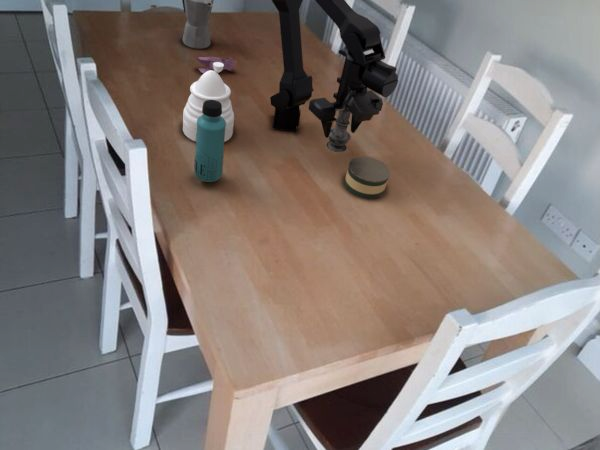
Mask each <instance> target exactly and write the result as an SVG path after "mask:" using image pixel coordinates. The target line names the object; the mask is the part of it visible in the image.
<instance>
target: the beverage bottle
mask: <svg viewBox="0 0 600 450" xmlns="http://www.w3.org/2000/svg"><path fill="white" fill-rule="evenodd" d="M202 113H203V115H201V116H200V117H199V118H198V119H197V135H196V141H194V142H195V155H194V164H193V165H194V174H195V177H196V178H197V179H198V180H200V181H203V182H207V183H212V182H216V181H218V180H220V179H221V177H222V176H223V173H224V172H223V170H224V168H223V167H224V154H225V142H224V138H225V126H226V121H225V120H224V118H222V117H221V116H220V115H221V114H222V105H221V103H220V102H219V101H216V100H207V101H205V102H204V103H203V108H202Z"/></svg>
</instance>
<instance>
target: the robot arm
mask: <svg viewBox="0 0 600 450" xmlns="http://www.w3.org/2000/svg"><path fill="white" fill-rule="evenodd" d="M303 1H304V0H271V3H273V5H274V7H275V8H276V10H277V11H278V17H279V28H280V39H281V40H280V41H281V48H282V49H281V51H282V63H283V72H282V75H281V78H280V80H279V83H278V84H279V88H278V92H277V93H274V94H273V95H272V96H270V97H269V101H270V105H271V106H272V107H274V114H273V115H272V129H273V130H279V131H287V132H293V133H294V132H295V133H296V132H297V129H298V127H299V126H300V125H299V124H300V119H301V115H302V114H301V112H302V111H301V108H300V106H303V105H305V104H306V102H308V101H309V100H310V98H312V95H313V92H314V91H315V90H314V87H313V77H312V75H308V74H307V73H306V71H305V69H304V60H303V46H302V32H301V19H300V9H301V6H302V4H303ZM314 1H315V2H316V3H317V5H318V6H319V7H320V8H321V9H322V10H323V11H324V13H326V15H327V16H328V17H329V18H330V20H331V21H332V22H333V23H334V24H335V26H336V27H337V28H338V30H339V36H340V39H341V40H342V42H343V43H344V45H345V46H344V48H341V49H339V50H338V54H339V55H341V56H343V57H345V59H344V62H343V67H342V71H341V75H340V76H338V77H337V78H336V82H337V84H339V85H338V89H337V92H334V93H333V94H332V97H333V98H334V99H335V101H333V102H330V101H329V100H328V98H326V97H319V98H313V99H311V100H310V101H309V103H308V111H310V112H311V113H312V114H313V115H314V116H315V117H316V118H317V119H318V121H320V123H321V126H322V132H323V135H324V137H325V138H326V139H329V134H330V131H331V129H332V128H333V127H332V126H333V123H334V122H336V120H337V118H336V117H335V116H336V114H337V112H339V110H345V109H349V110H350V112H351V114H350V115H351V120H350V132H351V133H352V134H355V133H356V131H357V130H358V128H359V127H360V126H361V125H362V123H363V122H366V121H367V122H369V121H371V120H372V118H373V117H374V116H377V115H379V114H380V112H381V111H382V109H383V105H384V102H383V99H382V98H381V97H383V98H388V97H390V96H391V95H392V94H393V93H394V92H395V90H396V88H397V86H398V83H399V75H398V74H397V71H398V70H397V67H395V66H394V65H391V64H388V63H386V62H384V60H385V59H386V55H385V50H384V47H383V46H384V45H383V42H382V39H381V30H380V28H379V27H378V26H377V25H376V23H374V22H373V21H372V20H370V19H369V18H368V17H366V16H363V15H361V14H359V13H358V12H356V11H355V10H354V9H353V8H352V7H351V6H350V4H349V3H348V2H347V1H346V0H314ZM368 51H372V52H370V53H367V54H365V52H368ZM377 94H378V95H377Z"/></svg>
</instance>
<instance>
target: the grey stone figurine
mask: <svg viewBox="0 0 600 450" xmlns="http://www.w3.org/2000/svg"><path fill="white" fill-rule="evenodd" d="M351 115H352V114H351V112H350V110H349V109H345V110H339V111H338V114H337V118H336V119H337V120H336V121H335V125H334V128H331V131H330V134H329V137H328V141H327V142H326V144H325V145H326V148H327V149H328V150H329V151H331V152H334V153H344V152H346V150H347V148H348V147H347V143H348V142H349V141H350V140H351V138H352V136H351V134H350V133H349V132H348V127H349V125H351V121H350V117H351Z"/></svg>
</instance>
